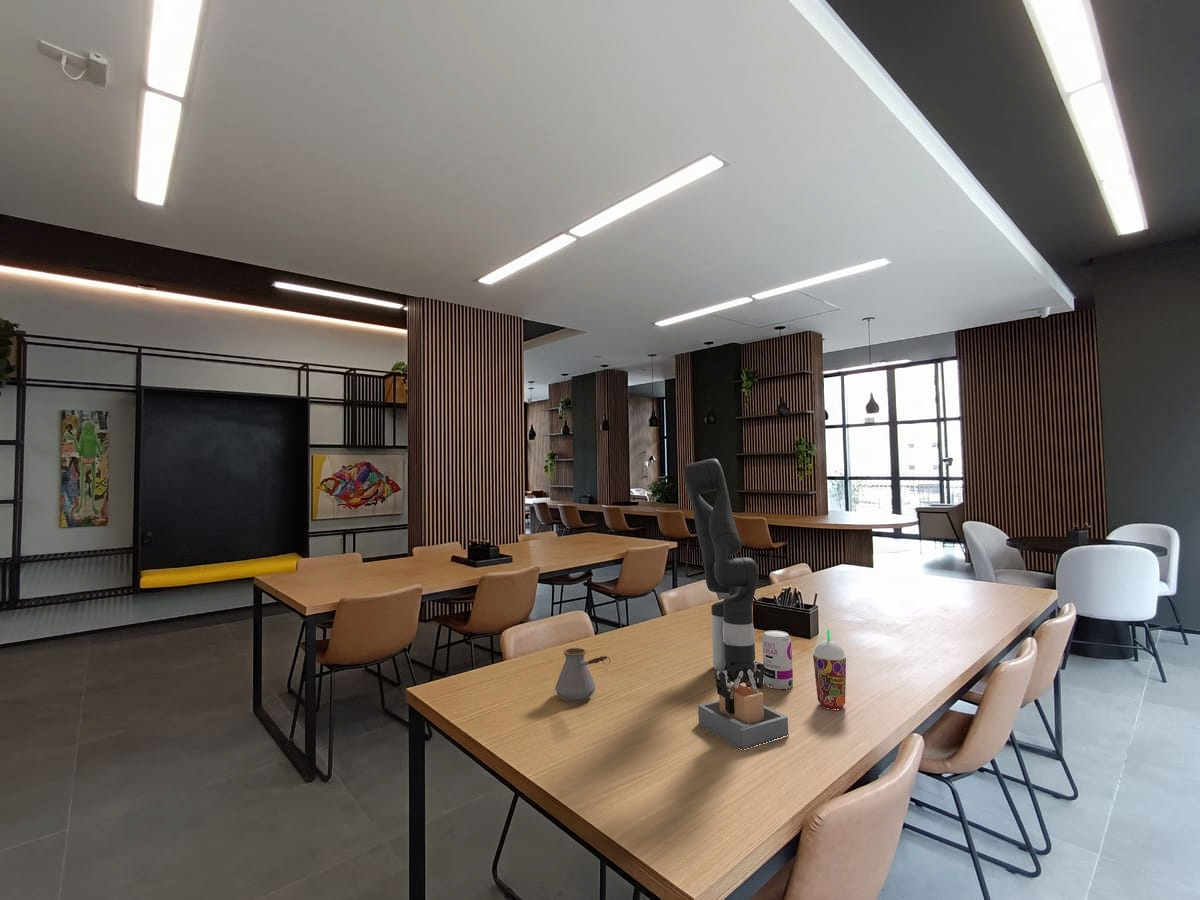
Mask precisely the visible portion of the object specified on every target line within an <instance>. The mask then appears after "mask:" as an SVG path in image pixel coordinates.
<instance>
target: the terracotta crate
mask: <svg viewBox="0 0 1200 900" xmlns="http://www.w3.org/2000/svg"><path fill="white" fill-rule="evenodd" d="M731 684H732V685H733V684H734V683H733V682H731ZM730 690H731V688H730ZM730 690H729V692H730ZM718 696H719V699H718V700H719V703H720V711H721V712H723V713H724V714H726V715H728V716H730V717H732V718H733V719H735V720H737V721H739V722H741V723H742V724H744V725H746V724H749V723H753V722H757V721H760V720H764V706H765V705H764V693H763V692H761V691H759V690H758V691H757V690H754V689H751V688H750V687H748V686H746V685H745V683H742V684H739V686H738V689H737V690H736V691H735V694H734V697H733V698H734V709H735V713H734V714H732V715H731V714H730V713H728V712H727V711H726V709H725V698H724V697H723V696H721V695H719V694H718Z"/></svg>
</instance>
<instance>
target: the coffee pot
mask: <svg viewBox="0 0 1200 900" xmlns="http://www.w3.org/2000/svg"><path fill="white" fill-rule="evenodd" d="M586 653H587V650H586V649H584V648H581V647H571V648H567V649H565V650H563V655H564V657H565V661H564V663H563V665H562V668H561V671H560V674H559V676H558V678H557V682H556V684H555V692H556V694H557V695H558V696H559V697H560V698H561V700H563V701H565V702H566V701H567V703H571V704H572V703H574V702H577V703H581V702H585V701H587V700H589V698H590V697H591V696H593V694H594V693H595V690H596V683H595V681H594V679H593V677H592V674H591V672H590V669H589V667H588V665H592V664H598V663H599V662H602V663H603V664H604V665H606V663H605V660H606V659H609V662H608V663H607V665H609V664H610V663H611V659H610V657H609V656H605V655H603V656H602V655H600V657H595V658H592V659H590V660H587V661H585V654H586Z"/></svg>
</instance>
